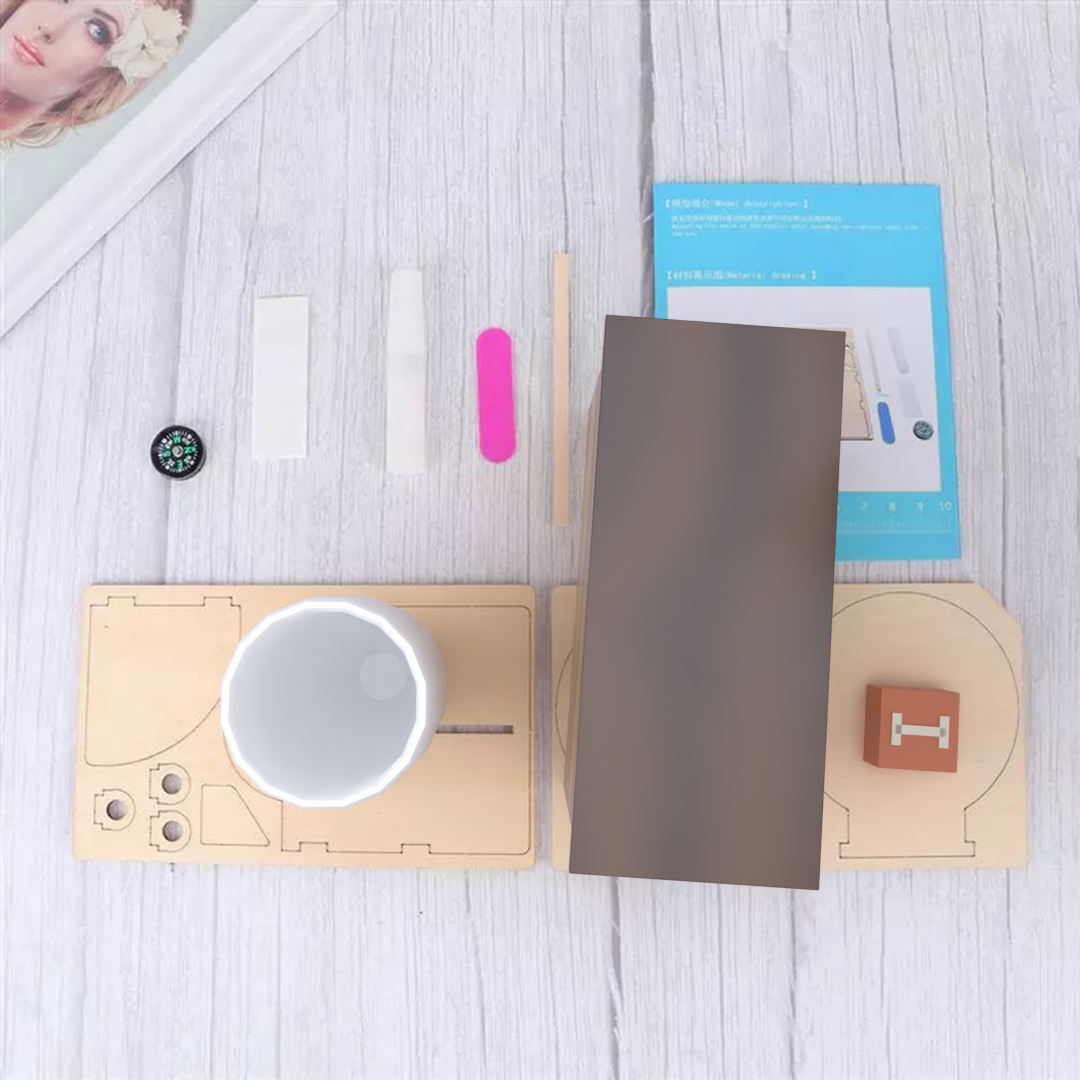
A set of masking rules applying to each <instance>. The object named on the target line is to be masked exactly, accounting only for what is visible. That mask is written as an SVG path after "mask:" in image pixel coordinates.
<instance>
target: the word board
mask: <svg viewBox="0 0 1080 1080" xmlns="http://www.w3.org/2000/svg"><path fill="white" fill-rule="evenodd" d="M846 336H847V332H846V331H839V330H828V329H827V330H826V329H812V328H799V327H798V328H797V327H786V326H772V325H771V326H770V325H758V324H742V323H729V322H715V321H704V320H703V321H700V320H687V319H675V318H674V319H673V318H660V317H648V316H647V317H645V316H635V315H633V316H632V315H618V314H606V315H605V317H604V327H603V342H602V357H601V367H602V371H601V386H600V401H599V416H598V431H597V446H596V461H595V476H594V491H593V507H592V522H591V537H590V552H589V567H588V582H587V597H586V612H585V627H584V643H583V658H582V673H581V688H580V703H579V718H578V733H577V748H576V763H575V778H574V794H573V809H572V824H571V823H570V841H569V855H568V874H570V875H571V874H572V875H585V876H586V875H587V876H600V877H601V876H602V877H614V878H615V877H616V878H629V879H630V878H631V879H644V880H645V879H646V880H657V881H659V880H660V881H676V882H688V883H703V884H716V885H717V884H718V885H732V886H745V887H747V886H749V887H764V888H774V889H775V888H776V889H777V888H779V889H789V890H790V889H792V890H805V891H807V890H809V891H820V881H821V863H822V862H821V861H822V859H821V858H822V841H823V839H822V838H823V819H824V817H823V816H824V799H825V798H824V797H825V795H824V794H825V777H826V776H825V775H826V755H827V733H828V717H829V716H828V715H829V695H830V694H829V692H830V673H831V650H832V633H833V632H832V630H833V610H834V609H833V607H834V587H835V570H836V569H835V567H836V566H835V565H836V549H837V547H836V546H837V526H838V524H837V523H838V505H839V485H840V461H841V443H842V441H841V439H842V422H843V403H844V402H843V398H844V380H845V358H846V357H845V356H846V339H847V337H846Z"/></svg>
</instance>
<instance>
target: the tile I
mask: <svg viewBox="0 0 1080 1080" xmlns="http://www.w3.org/2000/svg"><path fill="white" fill-rule="evenodd" d="M960 697H961V694H960V692H957V691H951V690H946V689H941V688H925V687H911V686H897V685H882V684H866V689H865V710H864V711H865V713H864V731H863V732H864V733H863V753H862V754H863V756H862V760H863V762H866V763H867V764H870V765H872V766H874V767H876V768H878V769H891V770H907V771H921V772H922V771H923V772H934V773H935V772H937V773H951V774H952V773H953V774H957V772H958V753H959V752H958V751H959V728H960V727H959V726H960V725H959V724H960V723H959V722H960V699H961V698H960Z"/></svg>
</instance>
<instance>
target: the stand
mask: <svg viewBox="0 0 1080 1080" xmlns="http://www.w3.org/2000/svg"><path fill="white" fill-rule="evenodd" d="M601 371H602V366H601V367H600V371H599V373H598V378H597V380H596V384H595V387H594V391H593V394H592V396H591V397H592V398H591V401H590V404H589V408H588V411H587V426H586V427H587V428H586V429H587V430H586V443H585V444H586V445H585V456H584V457H585V458H584V471H583V472H584V474H583V485H582V486H583V488H582V490H583V491H582V499H581V500H582V503H581V515H580V517H581V519H580V533H579V546H578V547H579V548H578V561H577V576H576V578H577V579H576V591H575V593H576V594H575V607H574V619H573V620H574V623H573V635H572V636H573V637H572V650H571V651H572V652H571V665H570V667H571V668H570V680H569V681H570V682H569V694H568V695H569V696H568V711H567V712H568V713H567V724H566V725H567V727H566V739H565V740H566V741H565V755H564V771H563V772H564V773H563V784H562V785H563V791H564V796H565V800H566V801H565V802H566V807H567V812H568V817H569V821H570V825H571V824H572V809H573V794H574V778H575V763H576V748H577V733H578V718H579V703H580V688H581V673H582V658H583V643H584V627H585V612H586V597H587V582H588V567H589V552H590V537H591V522H592V507H593V491H594V476H595V461H596V446H597V431H598V416H599V401H600V386H601Z"/></svg>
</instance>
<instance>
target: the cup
mask: <svg viewBox="0 0 1080 1080" xmlns="http://www.w3.org/2000/svg"><path fill="white" fill-rule="evenodd" d="M447 705H448V668H447V665H446V663H445V660H444V658H443V655H442V652H441V650H440V648H439V646H438V643H437V641H436V638H435V636H434V635H433V634H431V633H430V632H429V630H427V629H426V627H424V625H423V624H422V623H421V622H419V620H418V619H417V618H416V617H415V616H414V615H413V614H412V613H410V612H408V611H406V610H403V609H402V608H399V607H396V606H394V605H391V604H389V603H387V602H385V601H382V600H381V599H377V598H376V597H375V598H374V597H373V596H370V595H339V594H337V595H336V594H335V595H334V594H333V595H319V596H312V597H311V596H310V597H306V598H304V599H301V600H298V601H296V602H293V603H290V604H289V605H286V606H283V607H280V608H278V609H276V610H273V611H271V612H268V613H267V614H266V615H265V616H264V617H263V618H262V619H261V620H260V621H259V622H258V623H257V624H256V625H255V626H254V627H253V628H252V629H251V630H250V631H249V632H248V633H247V634H245V635H244V636H243V638H242V639H241V640H240V641H239V642H237V645H236V647H235V649H234V651H233V654H232V656H231V657H230V661H229V663H228V665H227V667H226V669H225V672H224V673H223V676H222V679H221V682H220V707H219V708H220V709H219V710H220V711H219V712H220V713H219V724H220V728H221V730H222V733H223V735H224V738H225V741H226V743H227V745H228V748H229V751H230V754H231V756H232V759H233V761H234V764H236V765H237V766H238V767H239V768H240V770H241V771H242V772H243V773H244V774H245V775H246V776H247V777H248V778H249V779H250V780H251V781H252V782H253V783H254V784H255V785H256V786H257V787H258V788H259V790H260V791H262V792H263V794H265V795H268V796H270V797H273V798H275V799H277V800H279V801H282V802H285V803H286V804H289V805H291V806H294V807H296V808H298V809H301V810H347V809H349V808H352V807H354V806H357V805H359V804H362V803H364V802H366V801H369V800H371V799H374V798H376V797H379V796H381V795H384V794H385V793H386V792H387V791H388V790H389V789H390V788H391V787H392V786H393V785H394V784H395V783H396V782H397V781H399V780H400V779H401V778H402V776H404V774H406V773H407V772H408V771H409V770H410V768H412V767H413V766H414V765H415V764H416V762H417V761H419V760H420V759H421V758H422V757H423V756H424V755H425V754H426V753H427V752H428V751H429V749H430V746H431V744H432V742H433V739H434V737H435V735H436V733H437V730H438V727H439V725H440V723H441V721H442V718H443V716H444V714H445V711H446V708H447Z"/></svg>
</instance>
